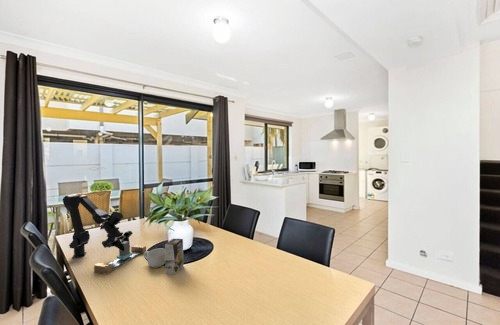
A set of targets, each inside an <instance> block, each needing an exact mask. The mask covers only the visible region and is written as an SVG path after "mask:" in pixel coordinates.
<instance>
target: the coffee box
mask: <svg viewBox="0 0 500 325" xmlns="http://www.w3.org/2000/svg"><path fill="white" fill-rule="evenodd" d="M164 249H165V264H164V267H165V269H164V270H165V274H170V275H177V273H178V272H180V271H181V270H182V269H183V268H184V238H172V239H171V240H169V241H167V242H165V244H164Z"/></svg>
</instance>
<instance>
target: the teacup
mask: <svg viewBox="0 0 500 325" xmlns="http://www.w3.org/2000/svg"><path fill="white" fill-rule="evenodd" d="M143 257H144V259H146V261H147V264H148V266H149V267H151V268H153V269H156V268H161V267H162V266H163V265H164V266H165V247H164V248H162V247H161V248H159V247H157V248H154V249H151V250H149V251H148V250H146V252H144V254H143Z"/></svg>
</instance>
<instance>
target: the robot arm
mask: <svg viewBox="0 0 500 325" xmlns="http://www.w3.org/2000/svg"><path fill="white" fill-rule="evenodd" d="M62 202H63V204H64V207H65V208H66V209H68V211H69V215H70V216H69V217H70V221H71V224H72V228H73V231H74V232H73V234H72V241H71V242H70V243H69V244H68V245H69V248H70V249H73V255H72V256H71V258H72V259H73V258H81V257H85V256H86V255H87V251H86V249H85V248H86V247H85V245H88V243H89V241H90V237H91V235H90V231H89V230H86V229H85V227H84V224H83V221H82V220H83V219H82V216H81V212H80V209H79V206H80V204H81V205H82V206H83V208H85V210H87V212H88V213H89V214H90V215H91V216H92V220H93V222H95V224H96V225H100V227H99V228H100V230H101V231H102V230H104V231H105V233H106V237H107V238H106V239H105V240H103V241H102V242H101V245H102V246H103V248H104V249H106V248H108V249H109V248H112V247H115V248H117V249H118V250H119V249H120V250H122V251H124V250H125V249H124V247H123V245H122V243H121V242H123V241H129V242H130V237H131V236H132V235H133V232H132V230H128V231H125V232H123V231H120V230H119V229H120V227H119V226H117V225H118V224H119V223H120V222H121V221H122V220H123V218H124V215H123V214H122V213H121V212H118V211H117V210H115V211H112V212H111V214H109V213H108V212H106V211H105V210H103V209H100V208H99V207H98V206H97V205H96V204H95V203H94V202H93V201H91V199H90V198H89V197H88V195H86V194H83V195H82V194H79V195H78V194H75V193H74V194H68V195H65V196H63V198H62Z"/></svg>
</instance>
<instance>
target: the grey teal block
mask: <svg viewBox="0 0 500 325" xmlns="http://www.w3.org/2000/svg"><path fill="white" fill-rule="evenodd" d="M121 243H122V245H123V247H124V249H125V250H124V251H122V250H120V249H119V248H118V252H119V254H118V255H117V256H116V259H122V260H124V259H126V258H128V257H130V256H131V255H132V252H131V251H130V250H131V244H130V240H129V241H123V242H121Z"/></svg>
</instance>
